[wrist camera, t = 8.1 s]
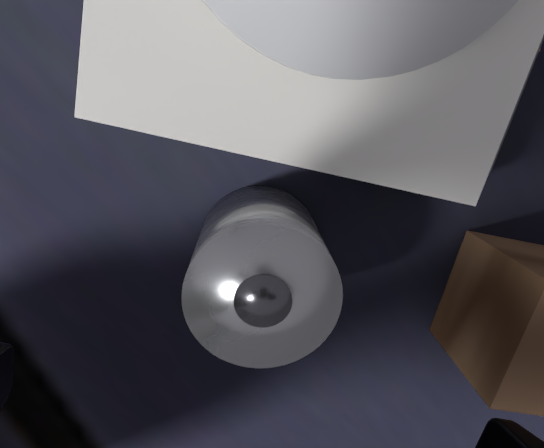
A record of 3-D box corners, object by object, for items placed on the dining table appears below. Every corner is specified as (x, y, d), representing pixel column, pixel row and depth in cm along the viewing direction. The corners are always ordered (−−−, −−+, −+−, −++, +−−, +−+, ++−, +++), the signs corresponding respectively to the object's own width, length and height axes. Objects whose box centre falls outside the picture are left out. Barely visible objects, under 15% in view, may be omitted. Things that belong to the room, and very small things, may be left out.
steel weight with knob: (301, 302, 16) (319, 380, 12) (191, 283, 16) (169, 356, 11) (330, 199, 15) (363, 243, 10) (212, 173, 14) (195, 209, 10)
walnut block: (525, 344, 17) (615, 426, 13) (428, 328, 17) (489, 408, 13) (568, 249, 16) (684, 305, 12) (465, 229, 16) (547, 280, 11)
